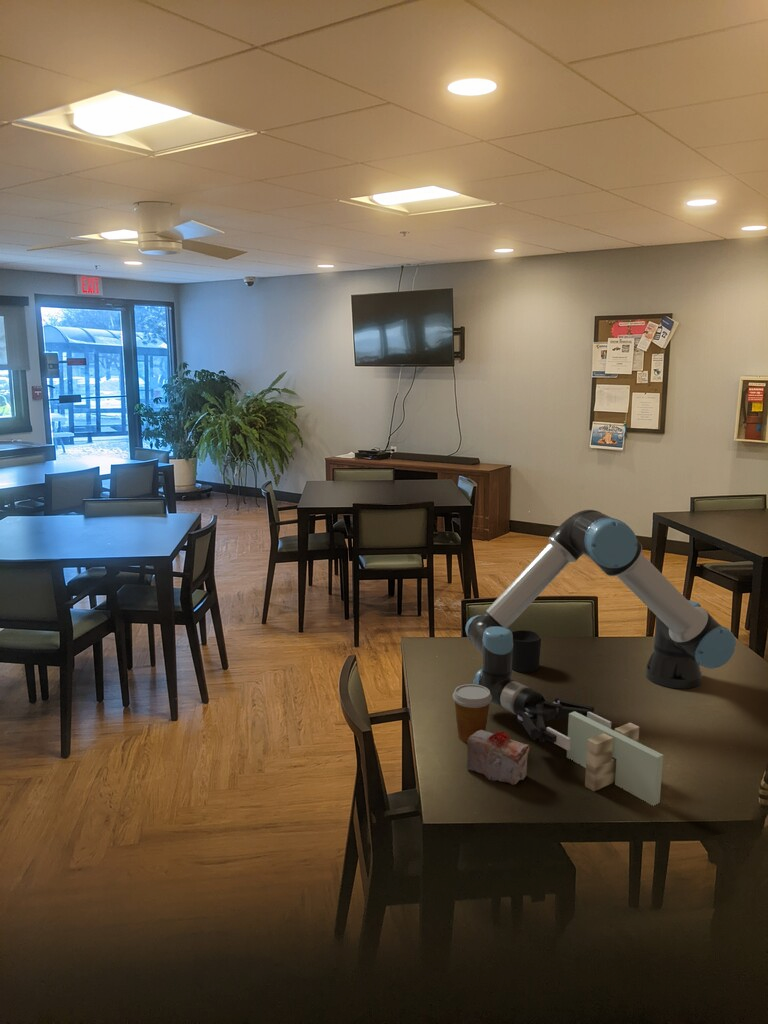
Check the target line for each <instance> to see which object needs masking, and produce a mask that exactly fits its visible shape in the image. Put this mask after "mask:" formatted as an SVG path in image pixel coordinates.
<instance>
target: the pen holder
mask: <svg viewBox="0 0 768 1024" xmlns="http://www.w3.org/2000/svg"><path fill="white" fill-rule="evenodd" d="M511 632H512V635H513V653H512V671H515V672H518V673H523V674H524V673H527V674H528V673H530V674H531V673H534V672H536V671H537V670H538V669H539V668H540V667H539V666H540V658H541V647H542V646H541V644H542V638H541V637H540V636H539V635H538V634H537V633H536V632H534V631H532V630H526V629H523V630H521V629H520V630H519V629H518V630H514V631H511Z"/></svg>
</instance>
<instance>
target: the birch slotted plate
mask: <svg viewBox="0 0 768 1024" xmlns="http://www.w3.org/2000/svg"><path fill="white" fill-rule="evenodd" d="M613 730H614V731H616V732H618V733H620V734H622V735H624V736H626V737H628V738H630V739H632V740H634V741H636V742H638V743H639V737H640V726H639V725H636V724H634V723H632V722H628V723H625V724H623V725H620V726H619V727H615V728H614V729H613ZM612 747H613V737H611V736H609V735H607V734H605V733H603V734H600V735H598V736H595V737H593V738H590V739H588V740H587V756H586V768H585V779H584V787H585V788H587V789H588V790H590V791H592V792H596V791H598V790H600V789H602V788H604V787H607V786H609V785H611V784H614V783H615V775H616V759H615V758H613V757H612ZM613 782H614V783H613Z"/></svg>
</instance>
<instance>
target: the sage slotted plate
mask: <svg viewBox="0 0 768 1024" xmlns="http://www.w3.org/2000/svg"><path fill="white" fill-rule="evenodd" d="M567 721H568V723H567V725H568V726H567V737H569V738H570V750H568V751H567V750H566V758H567V759H569V760H570V759H571V761H572V760H573V762H574V763H576V764H578V765H579V764H580V765H579V766H582V767H583V768H585V769H586V756H587V740H588V739H590V738H593V737H595V736H598V735H600V734H603V733H605V734H607V735H609V736H611V737H613V747H612V757H613V758H615V759H616V775H615V782H614V785H615V786H617V787H619V788H620V789H622V788H623V789H622V790H624V791H626V792H628V793H630V794H631V795H633V796H635V797H637V798H638V799H640V800H642V801H643V800H644V802H645V801H646V803H647V804H648V805H651V806H652V805H653V806H652V807H654V805H655V806H657V805H659V804H661V802H660V800H661V789H662V779H663V777H662V775H663V774H662V773H663V766H664V765H663V764H664V763H663V762H664V754H663V753H660V752H658V751H656V750H654V749H653V748H650V747H648V746H647V745H644V744H642V743H641V742H639V741H638V742H636V741H634V740H632V739H630V738H628V737H626V736H624V735H622V734H620V733H618V732H616V731H614V730H615V729H612V728H611V729H610V728H608V727H606V726H604V725H602V724H600V723H598V722H596V721H594V720H592V719H589V718H587V717H585V716H583V715H581V714H579V713H577V712H575V711H574V712H572V713H569V719H568V720H567ZM658 803H659V804H658ZM656 804H657V805H656Z"/></svg>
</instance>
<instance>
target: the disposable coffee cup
mask: <svg viewBox="0 0 768 1024" xmlns="http://www.w3.org/2000/svg"><path fill="white" fill-rule="evenodd" d="M452 700H453V702H454V707H455V714H456V715H455V718H456V727H457V734H458V739H459V740H460V741H462V742H464V743H467V740H468V738H469V737H470V736H471V735H472V734H473V733H475V732H477V731H479V730H484V731H486V727H487V722H488V715H489V711H490V703H492V702H491V700H492V696H491V694H490V691H489V689H487V688H486V687H484V686H481V685H476V684H473V683H470V684H469V683H468V684H467V683H466V684H462V685H458V686H457V687H455V689H454V692H453V693H452Z"/></svg>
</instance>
